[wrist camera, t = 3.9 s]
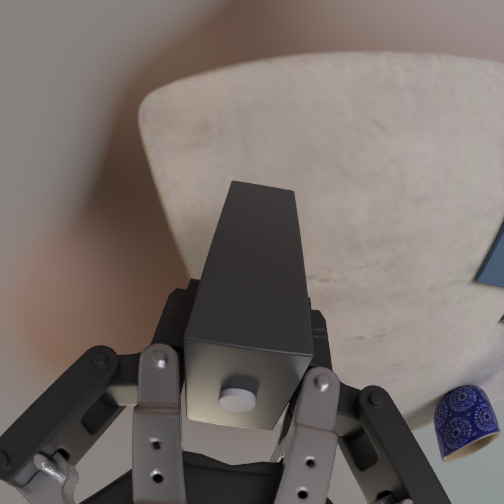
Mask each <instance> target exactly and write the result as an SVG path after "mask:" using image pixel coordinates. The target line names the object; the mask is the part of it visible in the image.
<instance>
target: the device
mask: <svg viewBox="0 0 504 504" xmlns="http://www.w3.org/2000/svg"><path fill="white" fill-rule="evenodd" d="M313 356H314V351H313V340H312V330H311V320H310V310H309V301H308V292H307V283H306V275H305V267H304V259H303V251H302V243H301V236H300V229H299V222H298V215H297V208H296V201H295V195H294V191H291V190H286V189H280V188H275V187H269V186H263V185H257V184H251V183H245V182H239V181H232V182H231V185H230V188H229V191H228V194H227V197H226V200H225V203H224V206H223V209H222V212H221V215H220V218H219V222H218V225H217V228H216V231H215V234H214V237H213V240H212V243H211V247H210V250H209V253H208V256H207V260H206V263H205V266H204V269H203V273H202V276H201V279H200V283H199V286H198V289H197V293H196V296H195V299H194V303H193V306H192V310H191V313H190V317H189V320H188V324H187V327H186V331H185V334H184V373H185V399H186V417H187V419H190V420H196V421H201V422H207V423H213V424H219V425H227V426H235V427H242V428H251V429H260V430H273V428H274V427H275V425H276V423H277V422H278V420H279V418H280V417H281V415H282V413H283V411H284V410H285V408H286V406H287V405H288V403H289V401H290V399H291V397H292V396H293V394H294V392H295V390H296V388H297V387H298V385H299V383H300V381H301V379H302V377H303V376H304V374H305V372H306V370H307V368H308V366H309V364H310V362H311V360H312V358H313Z"/></svg>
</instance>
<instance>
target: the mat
mask: <svg viewBox="0 0 504 504" xmlns="http://www.w3.org/2000/svg"><path fill="white" fill-rule="evenodd" d="M475 280H476V282H479V283H484V284H490V285H495V286H500V287H504V223H503V226H502V228H501V230H500V232H499V234H498V236H497V238H496V240H495V242H494V244H493V246H492V248H491V250H490V252H489V254H488V256H487V258H486V260H485V261H484V263H483V265H482V267H481V269H480V270H479V272H478V274H477V276H476V277H475Z"/></svg>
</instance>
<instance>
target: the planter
mask: <svg viewBox="0 0 504 504" xmlns="http://www.w3.org/2000/svg"><path fill="white" fill-rule="evenodd" d="M434 425H435V431H436V436H437V441H438V445H439V450H440V454H441V458H442V461H443V462H452V461H455V460H459V459H461V458H464V457H466V456H469V455H471V454H473V453H475V452H477V451H479V450H480V449H482V448H484V447H485V446H487V445H488V444H490V443H491V442H493V441H494V440H495V439H496V438H497V437H498V436H499V435H500V429H499V425H498V422H497V419H496V416H495V413H494V411H493V408H492V405H491V403H490V401H489V399H488V397H487V395H486V393H485V392H484V390H482V389H481V388H479V387H478V386H475V385H467V386H463V387H460V388H458V389H456V390H454V391H452V392H450V393H449V394H447V395H446V396H445V397H444V398H443V399H442V400H441V401H440V402H439V403H438V405H437V407H436V410H435V413H434Z"/></svg>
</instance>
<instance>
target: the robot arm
mask: <svg viewBox="0 0 504 504" xmlns="http://www.w3.org/2000/svg"><path fill="white" fill-rule="evenodd" d="M199 283H200V280H199V279H193V278H191V280H190V282H189V285H188V288H187V290H185V289H179V288H177V289H175V290H174V291H173V292H172V293H171V294H170V295H169V297H168V299H167V302H166V305H165V307H164V310H163V314H162V315H161V318H160V321H159V323H158V326H157V329H156V332H155V334H154V337H153V340H152V342H151V344H150V345H149V346H147V347H146V348H145V349H144V350H143V351H142V352H140V353H137V354H130V355H117V354H116V352H115V351H114V350H113V349H111V348H110V347H107V346H102V345H101V346H94V347H92V348H90V349H89V350H87V351H86V352H85V353H84V354H83V355H82V356H81V357H80V358H79V359H78V360H77V361H76V362H75V363H74V364H72V365H71V366H70V367H69V369H67V370H66V371H65V372H64V373H63V374H62V375H61V376H60V377H59V378H58V379H57V380H56V381H55V382H54V383H53V384H52V385H51V386H50V387H49V388H48V389H47V390H46V391H45V392H44V393H43V394H42V395H41V396H40V397H39V398H38V399H37V400H36V401H35V402H34V403H33V404H32V405H31V406H30V407H29V408H28V409H27V410H26V411H25V412H24V413H23V414H22V415H21V416H20V417H19V418H18V419H17V420H16V421H15V422H14V423H13V424H12V425H11V426H10V427H9V428H8V429H7V430H6V431H5V432H4V434H3V435H2V436H1V437H0V479H1V480H3V481H4V482H6V483H7V484H9V485H10V486H12V487H14V488H16V489H17V490H18V491H19V492H20V493H21V494H22V495H23V496H24V498H25V499H26V500H27V501H28V502H29V503H30V504H75V502H74V499H73V493H74V490H75V488H76V486H77V484H78V480H79V476H78V472H77V470H76V468H75V467H74V466H75V465H76V464H77V463H78V462H79V461H80V459H81V458H82V457H83V456H84V455H85V454H86V453H87V451H88V450H89V449H90V448H91V447H92V446H93V444H94V443H95V442H96V441H97V440H98V439H99V437H100V436H101V435H102V434H103V433H104V432H105V431H106V429H107V428H108V427H109V426H110V425H111V424H112V423H113V421H114V420H115V419H116V418H117V417H118V416H119V414H120V413H121V412H122V411H123V410H124V409H125V407H126V406H127V405H136V406H135V407H134V410H133V430H132V469H131V470H129V471H128V472H126V473H125V474H124V475H122V476H121V477H119V478H118V479H116V480H115V481H113V482H112V483H110V484H109V485H107V486H106V487H104V488H103V489H101V490H100V491H98V492H97V493H95V494H94V495H92V496H90V497H89V498H87V499H85V500H84V501H82V502H80V503H79V504H333V503H332V502H331V501H330V499H329V498H328V497H327V494H328V489H329V484H330V480H331V475H332V470H333V464H334V459H335V453H336V448H337V443H338V444H339V446H340V449H341V451H342V453H343V455H344V457H345V459H346V461H347V463H348V465H349V467H350V469H351V471H352V473H353V475H354V477H355V479H356V481H357V483H358V485H359V487H360V489H361V491H362V493H363V495H364V497H365V499H366V501H367V503H368V504H451V502H450V500H449V498H448V496H447V495H446V493H445V491H444V489H443V487H442V485H441V483H440V482H439V480H438V478H437V476H436V474H435V472H434V471H433V469H432V467H431V466H430V464H429V462H428V460H427V458H426V457H425V455H424V453H423V451H422V449H421V448H420V446H419V444H418V443H417V441H416V439H415V437H414V436H413V434H412V432H411V431H410V429H409V427H408V425H407V424H406V422H405V420H404V419H403V417H402V415H401V414H400V412H399V410H398V409H397V407H396V405H395V404H394V402H393V400H392V399H391V397H390V395H389V394H388V393H387V392H386V390H384V389H383V388H381V387H379V386H374V385H371V386H367V387H365V388H364V389H363V390H359V389H356V388H353V387H350V386H348V385H345V384H344V383H342V382H341V381H340V380H339V378H338V376H337V375H336V374H335V373H334V372H333V370H332V364H331V356H330V348H329V341H328V334H327V327H326V320H325V318H324V317H323V315H322V314H321V312H320V311H319V310H311V301H310V297H308V301H309V310H310V320H311V330H312V340H313V351H314V356H313V358H312V360H311V362H310V364H309V366H308V368H307V370H306V372H305V374H304V376H303V377H302V379H301V381H300V383H299V385H298V387H297V388H296V390H295V392H294V394H293V396H292V397H291V399H290V401H289V405H288V407H287V409H286V412H285V416H284V419H283V423H282V427H281V430H280V434H279V437H278V441H277V444H276V447H275V450H274V452H273V454H272V457H271V459H270V461H269V462H257V463H250V464H241V465H229V464H226V463H223V462H220V461H218V460H215V459H213V458H210V457H207V456H205V455H203V454H197V453H192V452H187V451H184V447H183V435H182V417H181V392H182V388H183V383H184V381H185V373H184V334H185V331H186V327H187V324H188V320H189V317H190V313H191V310H192V306H193V303H194V299H195V296H196V293H197V289H198V286H199Z"/></svg>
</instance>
